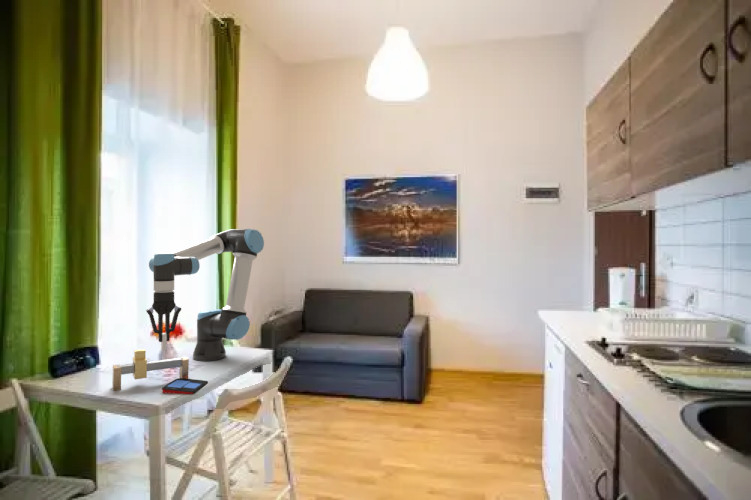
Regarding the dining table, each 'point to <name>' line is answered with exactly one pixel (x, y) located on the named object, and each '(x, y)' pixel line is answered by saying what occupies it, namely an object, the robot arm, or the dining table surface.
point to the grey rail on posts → (150, 369)
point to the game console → (184, 386)
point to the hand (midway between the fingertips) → (163, 349)
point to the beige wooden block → (140, 364)
